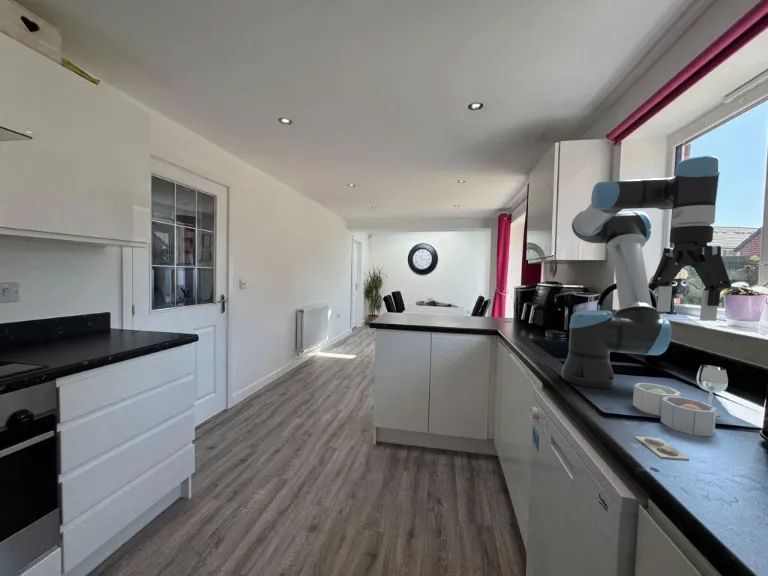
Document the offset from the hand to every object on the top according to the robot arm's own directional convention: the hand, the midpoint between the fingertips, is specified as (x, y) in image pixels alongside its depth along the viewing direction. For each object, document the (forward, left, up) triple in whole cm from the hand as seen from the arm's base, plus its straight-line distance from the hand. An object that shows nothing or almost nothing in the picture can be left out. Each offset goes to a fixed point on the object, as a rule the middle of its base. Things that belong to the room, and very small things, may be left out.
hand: (683, 315), depth 81 cm
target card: (+15, -13, -26) cm, 33 cm away
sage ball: (-7, -1, -25) cm, 26 cm away
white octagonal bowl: (-7, 0, -26) cm, 27 cm away
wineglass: (-7, +13, -26) cm, 30 cm away
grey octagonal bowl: (+3, 0, -26) cm, 26 cm away
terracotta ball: (+3, 0, -25) cm, 25 cm away
